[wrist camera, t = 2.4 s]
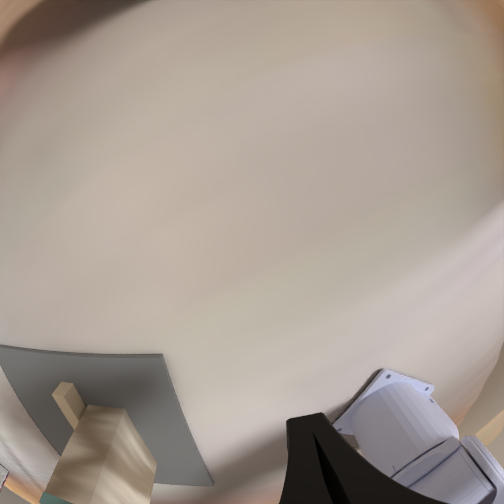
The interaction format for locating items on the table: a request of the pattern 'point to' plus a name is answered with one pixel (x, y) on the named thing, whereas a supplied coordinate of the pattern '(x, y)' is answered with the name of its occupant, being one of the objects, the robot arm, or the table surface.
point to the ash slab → (103, 462)
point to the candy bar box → (3, 475)
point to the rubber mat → (107, 402)
